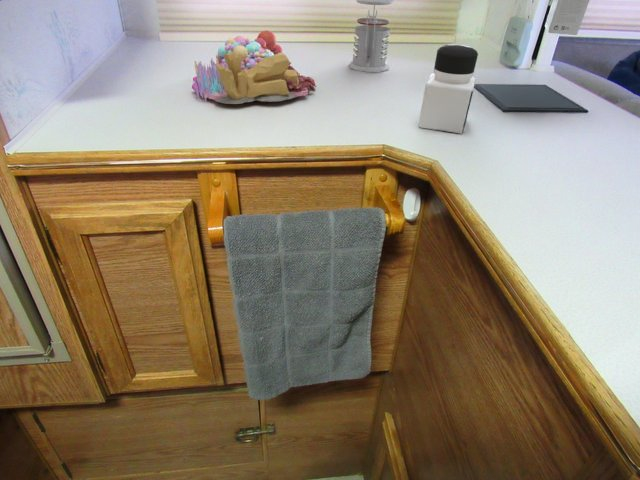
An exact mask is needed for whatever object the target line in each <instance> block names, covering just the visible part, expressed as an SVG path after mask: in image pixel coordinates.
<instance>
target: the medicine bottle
mask: <svg viewBox="0 0 640 480" xmlns="http://www.w3.org/2000/svg"><path fill="white" fill-rule="evenodd" d="M478 56H479V53H478V50H476V49H475V48H473V47H471V46H468V45H464V44H445V45H442V46H440V47H439V48H437V50H436V56H435V61H434V67H433V72H432V73H431V74H430V76H429V78H428V80H427V81H426V82H425V85H424V86H425V87H424V91H423V96H422V97H423V98H422V102H421V109H420V115H419V121H418V127H419V128H421V129H428V130H435V131H441V132H447V133H453V134H461V135H462V134H463V133H464V130H465V127H466V122H467V119H468V115H469V110H470V108H471V107H470V106H471V103H472V98H473V93H474V90H475V88H474V86H475V84H476V81H477V78H476V77H475V76H474V74H475V69H476V64H477V61H478Z"/></svg>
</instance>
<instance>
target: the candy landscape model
mask: <svg viewBox="0 0 640 480" xmlns="http://www.w3.org/2000/svg"><path fill="white" fill-rule="evenodd" d="M215 58H216V60H215V61H216V62H215V61H214V60H213V58H211V59H210V63H208V64H207V65H206V64H205V63H204V64H203V63H202V60H200V61H199V62H198V63H197V61H196V60H194V70H195V74H196V76H193V78H192V84H191V89H192V90H193V92H194V94H196V98H197V99H200V97H201V98H202V99H204V102H207V99H209V100H213V101H215V102H217V103H221V104H231V105H239V104H245V103H251V102H255V101H257V102H269V103H271V102H272V103H273V102H283V101H286V100H292V99H294V98H298V97H303V96H308V95H309V92H316V89H315V87H317V85H316V81H315V79H314V78H312V76H311V77H310V76H304V75H303V74H302V75H301V73H299V72H298V70H297V69H295V68H294V67H293V66H292V65H291V64H292V62H291V61H290V59H289V58H288V56H287V55H286V54H285V53H284V51H283V47H282V46H281V45H280V44H278V43H277V37H276V35H275V34H274V32H272V31H270V30H265V29H264V30H262V31H260V33H259V34H258V35H257V37H256V38H255V39H254V40H252V41H251V39H249V38H248V37H244V36H241V35H237V36H235V37H234V38H232V37H230V38H228V39H227V40H226V41H225V42H224V45H221V46H220V47H219V48H218V50H217V53H216V55H215Z"/></svg>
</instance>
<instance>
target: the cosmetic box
mask: <svg viewBox="0 0 640 480" xmlns="http://www.w3.org/2000/svg"><path fill="white" fill-rule="evenodd" d="M589 3H590V0H552V2H551V5H550V7H549V11H548V14H547V16H546V20H545V24H544V27H545V29H546V31H547V33H549V34H555V35H569V36H577V35H578V34H579V32H580V31H579V30H580V28H581V26H582V22H583V20H584V17H585V14H586V11H587V8H588V5H589Z"/></svg>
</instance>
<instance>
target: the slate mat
mask: <svg viewBox="0 0 640 480" xmlns="http://www.w3.org/2000/svg"><path fill="white" fill-rule="evenodd" d="M474 90H476V91H477V92H479V93H480V94H481V95H482V96H483V97H484V98H486V99H487V100H488V101H490V103H492V105H494V106H496V107H497V108H498V109H499V110H500V111H501V112H503V113H585V114H586V113H588V112H589V110H588V109H586V108H585V107H583V106H582V105H580V104H578V103H577V102H575V101H573V100H572V99H570V98H568V97H567V96H565V95H563V94H562V93H560V92H558V91H557V90H556V89H554V88H552V87H550V86H548V85H547V84H518V83H517V84H515V83H514V84H513V83H512V84H510V83H509V84H505V83H504V84H502V83H475V86H474Z"/></svg>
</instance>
